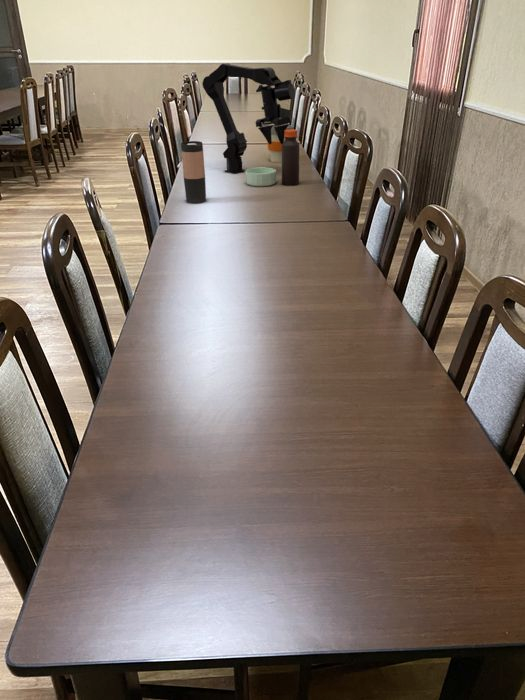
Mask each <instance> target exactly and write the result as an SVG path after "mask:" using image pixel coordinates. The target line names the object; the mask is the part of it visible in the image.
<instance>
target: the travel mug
mask: <svg viewBox="0 0 525 700" xmlns="http://www.w3.org/2000/svg"><path fill="white" fill-rule="evenodd" d="M180 149H181V150H180V151H181V163H182V173H183V174H182V175H183V183H184V185H183V186H184V193H185V201H186V203H188V204H202V203H205V202H206V201H207V188H206V187H207V186H206V170H205V159H204V158H205V156H204V146H203V142H202V141H198V140H189V141H187V140H186V141H183V142H181V143H180Z"/></svg>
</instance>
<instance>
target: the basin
mask: <svg viewBox="0 0 525 700" xmlns="http://www.w3.org/2000/svg"><path fill="white" fill-rule="evenodd" d="M244 172H245V183H246V184H247V185H248V186H251V187H260V188H261V187H270V186H273V185H275V184H276V183H277V169H275V168H274V167H273V168H272V167H263V166H262V167H261V166H259V167H257V166H256V167H252V168H251V167H250V168H247V169H245V170H244Z"/></svg>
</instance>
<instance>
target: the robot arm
mask: <svg viewBox="0 0 525 700" xmlns="http://www.w3.org/2000/svg"><path fill="white" fill-rule="evenodd" d="M275 71H276V70H274V68H273V67H271V66H270V67H268V66H267V67H266V66H265V67H255V68H254V67H249V66H244V65H243V66H242V65H238V64H237V65H236V64H231V63H228V62H227V63H226V62H225V63H221V64H220V65H219V66H218V67H217V68H216V69H215V70H213V71H212V72H211V73H209V75H207V76H205V77H203V79H202V83H201V84H202V88H203V90H204V91H205V93H206V95H207V96H208V97H209V98H210V99H211V100H212V102H213V104H214V106H215V109H216V111H217V114H218V117H219V119H220V122H221V124H222V127H223V129H224V132H225V135H226V137H225V139H226V140H225V141H226V146H227V147H226V149H224V151H223V152H222V156H223V158H224V159H225V160H226V169H224V172H225V173H229V174H237V173H242V172H245V169H243V159H242V157H243V156H244V153H245V151H246V150H247V146H248V144H247V143H248V140H247V139H246V136H245V133H244V132H240V131H238V129H237V127H236V124H235V122H234V119H233V116H232V113H231V111H230V109H229V106H228V103H227V101H226V99H225V87H224V83H225V82H226V81H227V79H228V77H229V76H230V77H231V76H232V77H236V78H242V79H247V80H248V79H249V80H251V81H253V82H254V83H256V84H259V85H258V87H257V89H256V90H255V92H256V93H261V99H262V104H263V105H262V106H261V111H263V113H264V117H263V118H258V119H256V121H255V122H254V123H255V128H257V129H258V130H259V131H260V133H261V134H262V135H263V137H264V138H265V140H266V143H267V142H268V143H269V144H272V138H271V129H272V127H273V125H275V126H276V127H274V129H275V131H276V134H277V136H278V139H279V141H280V143H281V144H283V142H284V131H285V130H286V128H287V127H288V126H289V125H291V124H292V109H288V108H284V107H281V104H280V103H278V101H279V102H283V101H289V100H293V99H295V96H296V88H295V86H294V84H293V82H292V79H287V80H284V81H282V80H281V79H280V78H279V77H278V76H277V74H276V72H275Z"/></svg>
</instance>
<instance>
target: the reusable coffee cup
mask: <svg viewBox="0 0 525 700" xmlns="http://www.w3.org/2000/svg"><path fill="white" fill-rule="evenodd" d="M272 125H273V127H272V129H271V138H272V144H269V143H268V142H267V141H266V144H267V150H268V152H269V158H270V159H269V160H270V162H272V163H282V144H281V143H280V141H279V139H278V136H277V134H276V131H275V129H274V127H276V126H275V125H274V124H272ZM289 129H293V130H294V126H293V125H291V124H290V125H289V126H288V127H287V128H286V130H289ZM284 141H285V138H284Z"/></svg>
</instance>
